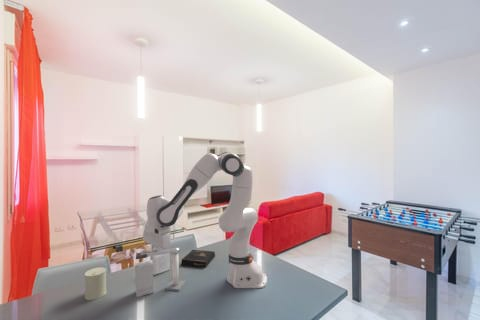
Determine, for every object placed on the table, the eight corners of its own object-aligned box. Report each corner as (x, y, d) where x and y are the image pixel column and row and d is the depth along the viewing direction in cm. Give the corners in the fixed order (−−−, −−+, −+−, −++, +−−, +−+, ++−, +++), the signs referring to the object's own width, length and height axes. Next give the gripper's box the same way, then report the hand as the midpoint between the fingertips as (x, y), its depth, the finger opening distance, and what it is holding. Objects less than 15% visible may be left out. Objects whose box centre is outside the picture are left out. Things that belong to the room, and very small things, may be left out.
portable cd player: (215, 257, 156) (214, 251, 156) (205, 268, 139) (205, 262, 139) (193, 254, 159) (193, 249, 159) (181, 265, 143) (181, 259, 143)
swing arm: (178, 249, 122) (178, 246, 122) (179, 253, 117) (179, 249, 117) (136, 256, 114) (136, 252, 114) (135, 260, 110) (135, 256, 110)
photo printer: (167, 267, 140) (167, 247, 140) (170, 269, 137) (170, 249, 137) (151, 273, 133) (151, 252, 133) (154, 276, 130) (154, 254, 130)
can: (83, 302, 106) (83, 277, 106) (86, 292, 114) (85, 268, 114) (105, 296, 110) (105, 272, 110) (107, 287, 118) (106, 264, 118)
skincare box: (152, 287, 118) (152, 259, 118) (153, 293, 113) (153, 263, 113) (135, 291, 114) (135, 262, 114) (135, 298, 109) (135, 267, 109)
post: (185, 282, 122) (185, 250, 122) (179, 291, 114) (179, 257, 114) (172, 281, 124) (172, 249, 124) (164, 289, 116) (164, 255, 116)
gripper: (139, 224, 121) (139, 250, 121) (161, 231, 109) (161, 260, 109) (150, 222, 126) (150, 246, 126) (172, 228, 114) (172, 255, 114)
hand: (156, 253), depth 118 cm, fingers closed
